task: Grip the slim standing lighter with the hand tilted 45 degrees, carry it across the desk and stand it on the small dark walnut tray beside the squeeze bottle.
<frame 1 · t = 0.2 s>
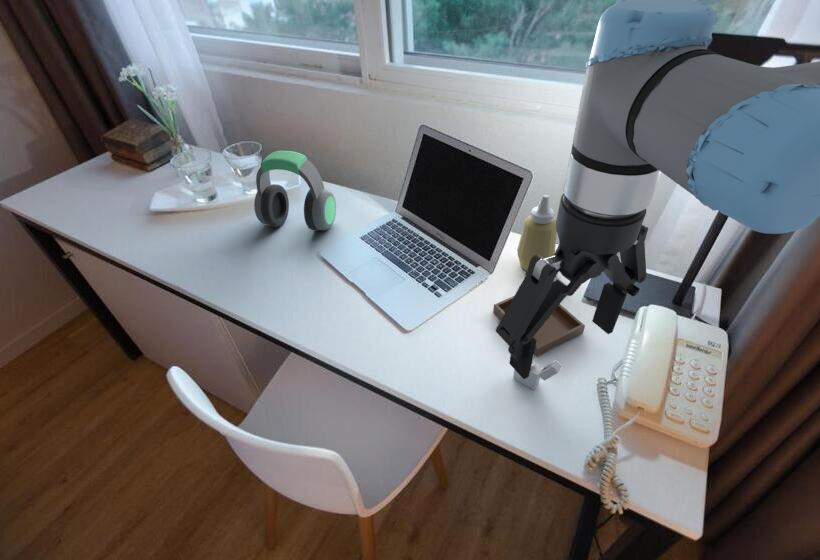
hand: (562, 347, 54), 21 cm above the table, tool pointing down, fingers open, 13 cm apart
headphones: (300, 225, 115), on the table
tray: (536, 322, 85), on the table
lighter: (533, 385, 74), on the table
squeeze bottle: (533, 266, 98), on the table
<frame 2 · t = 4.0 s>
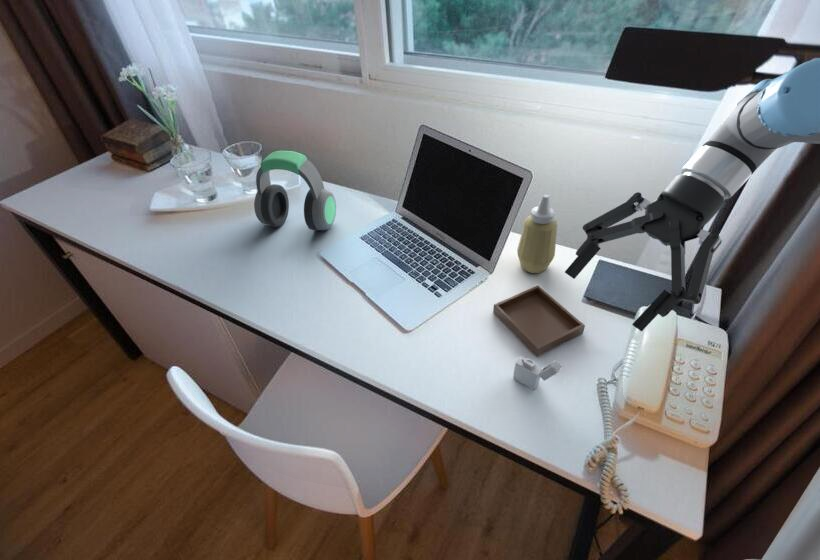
hand: (600, 300, 67), 15 cm above the table, tool tilted 45°, fingers open, 13 cm apart
nothing on the table moved.
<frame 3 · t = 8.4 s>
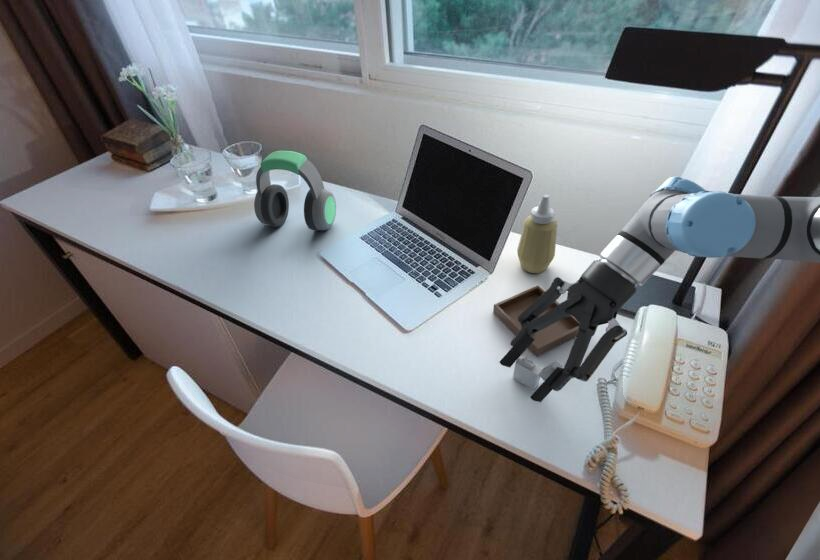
hand: (519, 381, 71), 4 cm above the table, tool tilted 45°, fingers closed on lighter, 7 cm apart
lighter: (533, 385, 74), on the table, touching gripper
everything else where it was.
when the fingers open (4 cm above the table, at t = 15.9 s): lighter stays where it is, resting on tray.
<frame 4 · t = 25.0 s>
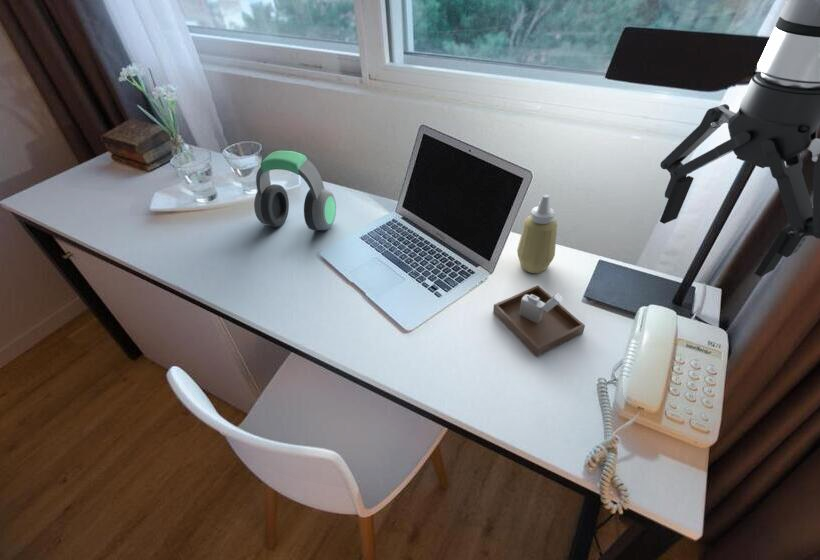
hand: (712, 243, 58), 27 cm above the table, tool pointing down, fingers open, 13 cm apart
lighter: (537, 320, 84), point 1 cm above the table, touching tray
everything else where it was.
at the end: lighter inside the target area in the tray (0.0 cm from its centre), point 0.6 cm above the tray's base; lighter 17.8 cm from the squeeze bottle (horizontally); the gripper is holding nothing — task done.
